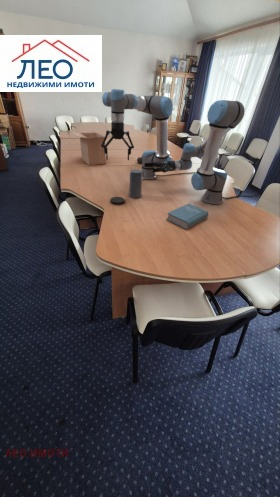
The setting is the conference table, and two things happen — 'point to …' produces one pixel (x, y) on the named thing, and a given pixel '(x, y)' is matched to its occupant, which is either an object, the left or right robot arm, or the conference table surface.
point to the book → (187, 216)
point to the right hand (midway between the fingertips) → (148, 167)
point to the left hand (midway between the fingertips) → (117, 159)
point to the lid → (117, 200)
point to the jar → (135, 183)
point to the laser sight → (140, 159)
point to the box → (92, 146)
